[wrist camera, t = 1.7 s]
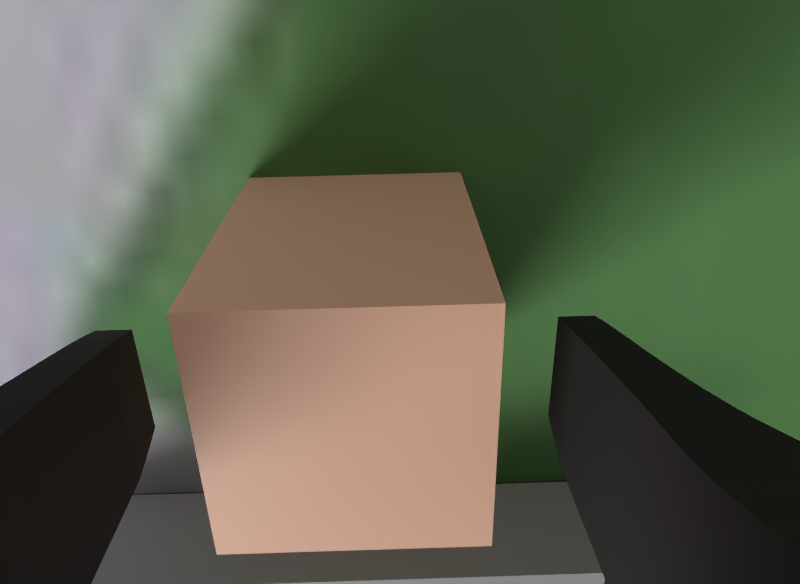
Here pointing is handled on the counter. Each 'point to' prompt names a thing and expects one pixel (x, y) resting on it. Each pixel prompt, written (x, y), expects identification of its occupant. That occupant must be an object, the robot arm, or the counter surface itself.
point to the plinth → (357, 569)
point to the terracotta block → (344, 366)
